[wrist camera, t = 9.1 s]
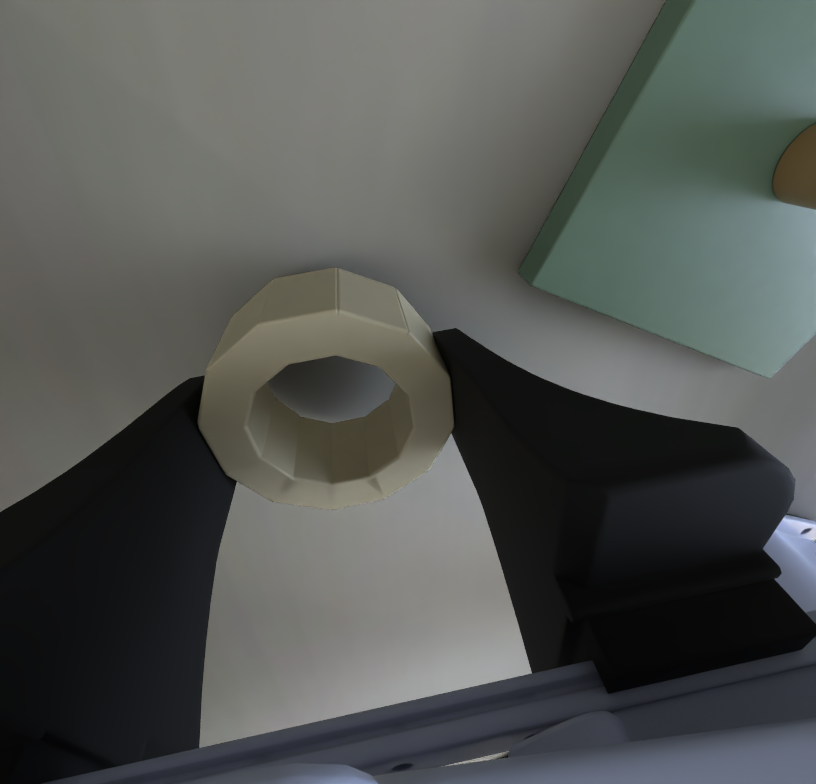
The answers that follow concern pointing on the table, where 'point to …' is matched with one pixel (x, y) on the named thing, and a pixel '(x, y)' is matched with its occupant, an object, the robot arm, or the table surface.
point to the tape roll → (312, 439)
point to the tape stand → (700, 187)
